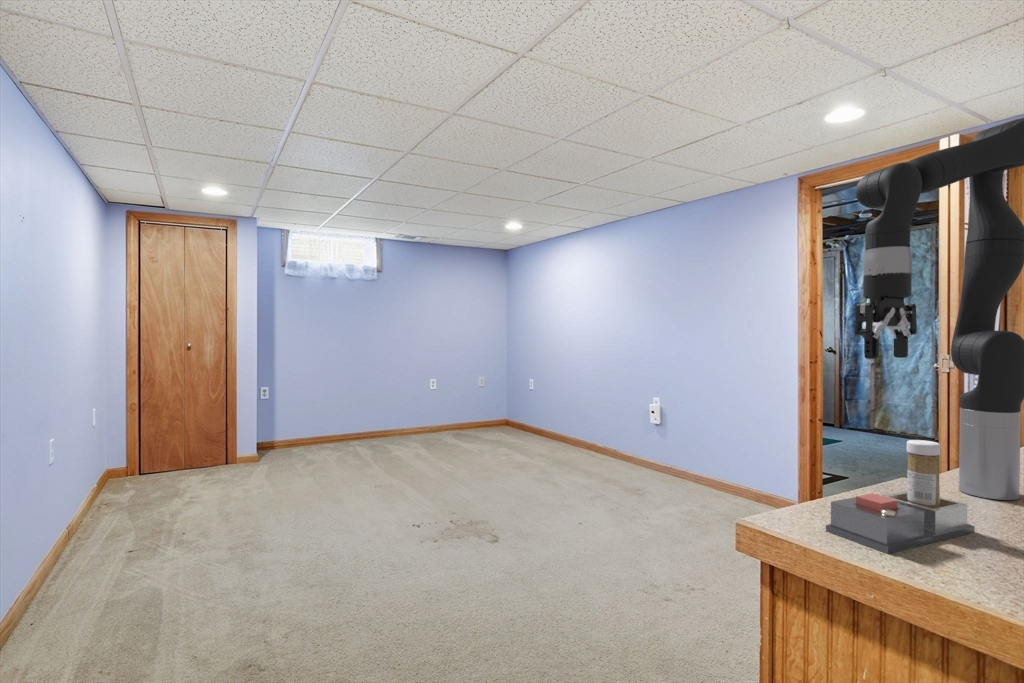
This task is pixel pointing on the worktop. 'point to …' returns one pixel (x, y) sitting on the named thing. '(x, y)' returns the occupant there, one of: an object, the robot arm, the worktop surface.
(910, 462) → the sprinkles bottle
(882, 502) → the button
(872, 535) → the grey push button box
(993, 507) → the worktop surface
